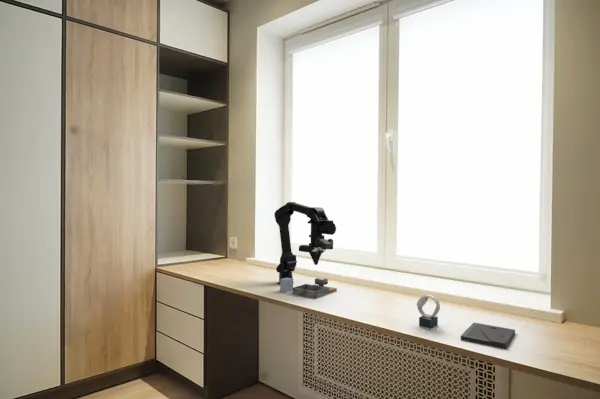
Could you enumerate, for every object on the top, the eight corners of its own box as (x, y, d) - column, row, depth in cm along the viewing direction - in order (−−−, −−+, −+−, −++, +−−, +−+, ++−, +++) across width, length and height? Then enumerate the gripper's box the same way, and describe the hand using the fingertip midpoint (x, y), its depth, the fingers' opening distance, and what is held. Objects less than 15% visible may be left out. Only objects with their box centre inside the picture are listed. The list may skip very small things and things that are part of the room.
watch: (421, 321, 150) (422, 292, 150) (442, 326, 145) (442, 295, 145) (414, 324, 147) (414, 294, 146) (434, 329, 141) (435, 298, 141)
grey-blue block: (280, 291, 196) (280, 279, 196) (286, 289, 200) (286, 277, 200) (286, 292, 194) (286, 280, 194) (293, 290, 198) (293, 278, 198)
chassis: (292, 294, 191) (292, 287, 190) (313, 287, 205) (313, 281, 205) (316, 298, 182) (316, 291, 182) (336, 291, 197) (336, 284, 197)
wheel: (312, 283, 197) (312, 279, 197) (319, 281, 202) (319, 276, 202) (323, 285, 194) (323, 280, 194) (330, 283, 199) (330, 278, 199)
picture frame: (505, 351, 124) (514, 335, 138) (505, 343, 124) (514, 328, 138) (460, 341, 131) (473, 327, 146) (460, 334, 131) (473, 321, 146)
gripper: (314, 235, 185) (314, 269, 186) (341, 233, 198) (340, 265, 198) (298, 233, 194) (297, 266, 194) (325, 231, 206) (324, 261, 206)
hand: (316, 264), depth 198 cm, fingers closed
